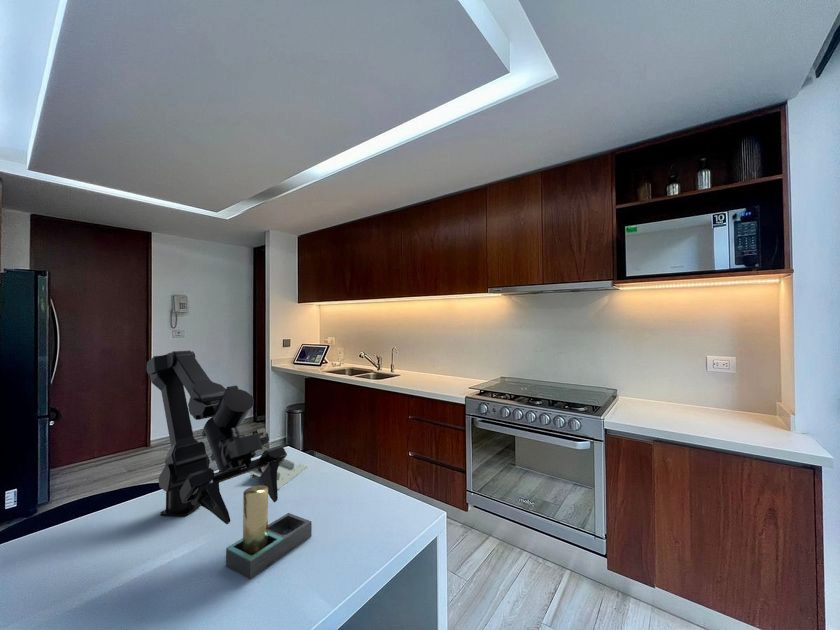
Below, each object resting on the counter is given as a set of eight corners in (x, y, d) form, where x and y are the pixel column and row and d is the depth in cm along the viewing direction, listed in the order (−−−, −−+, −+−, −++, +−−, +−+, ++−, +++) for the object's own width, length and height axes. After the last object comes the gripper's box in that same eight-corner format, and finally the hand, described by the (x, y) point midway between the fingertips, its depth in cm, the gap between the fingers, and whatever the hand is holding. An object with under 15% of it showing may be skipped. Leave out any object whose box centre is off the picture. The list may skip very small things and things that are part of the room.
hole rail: (250, 579, 59) (250, 560, 59) (225, 566, 63) (226, 547, 63) (311, 536, 72) (311, 519, 72) (288, 526, 75) (288, 511, 75)
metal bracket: (239, 466, 94) (272, 447, 109) (234, 486, 94) (268, 464, 109) (284, 485, 92) (312, 463, 106) (279, 505, 92) (307, 480, 106)
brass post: (237, 566, 63) (238, 494, 63) (254, 551, 67) (254, 484, 67) (256, 570, 61) (256, 497, 62) (272, 555, 65) (272, 486, 66)
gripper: (187, 429, 61) (216, 512, 54) (282, 408, 76) (314, 471, 69) (169, 464, 65) (193, 544, 58) (262, 437, 80) (290, 499, 74)
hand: (253, 511), depth 65 cm, fingers open, 9 cm apart
